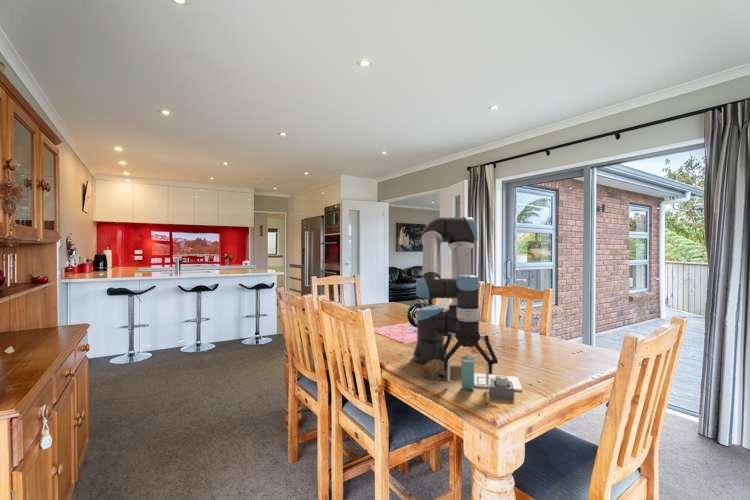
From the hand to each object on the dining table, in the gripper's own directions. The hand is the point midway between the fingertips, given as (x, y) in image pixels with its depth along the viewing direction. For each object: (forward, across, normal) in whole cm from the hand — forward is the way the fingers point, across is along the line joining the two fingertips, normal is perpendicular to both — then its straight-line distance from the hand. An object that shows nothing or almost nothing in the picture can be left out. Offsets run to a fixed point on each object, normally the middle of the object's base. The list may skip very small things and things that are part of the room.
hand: (467, 381), depth 122 cm
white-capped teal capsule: (+3, 0, 0) cm, 3 cm away
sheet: (+3, +10, +8) cm, 13 cm away
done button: (+1, +11, -2) cm, 11 cm away
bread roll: (+3, -12, +10) cm, 16 cm away
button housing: (+3, +11, -2) cm, 11 cm away
